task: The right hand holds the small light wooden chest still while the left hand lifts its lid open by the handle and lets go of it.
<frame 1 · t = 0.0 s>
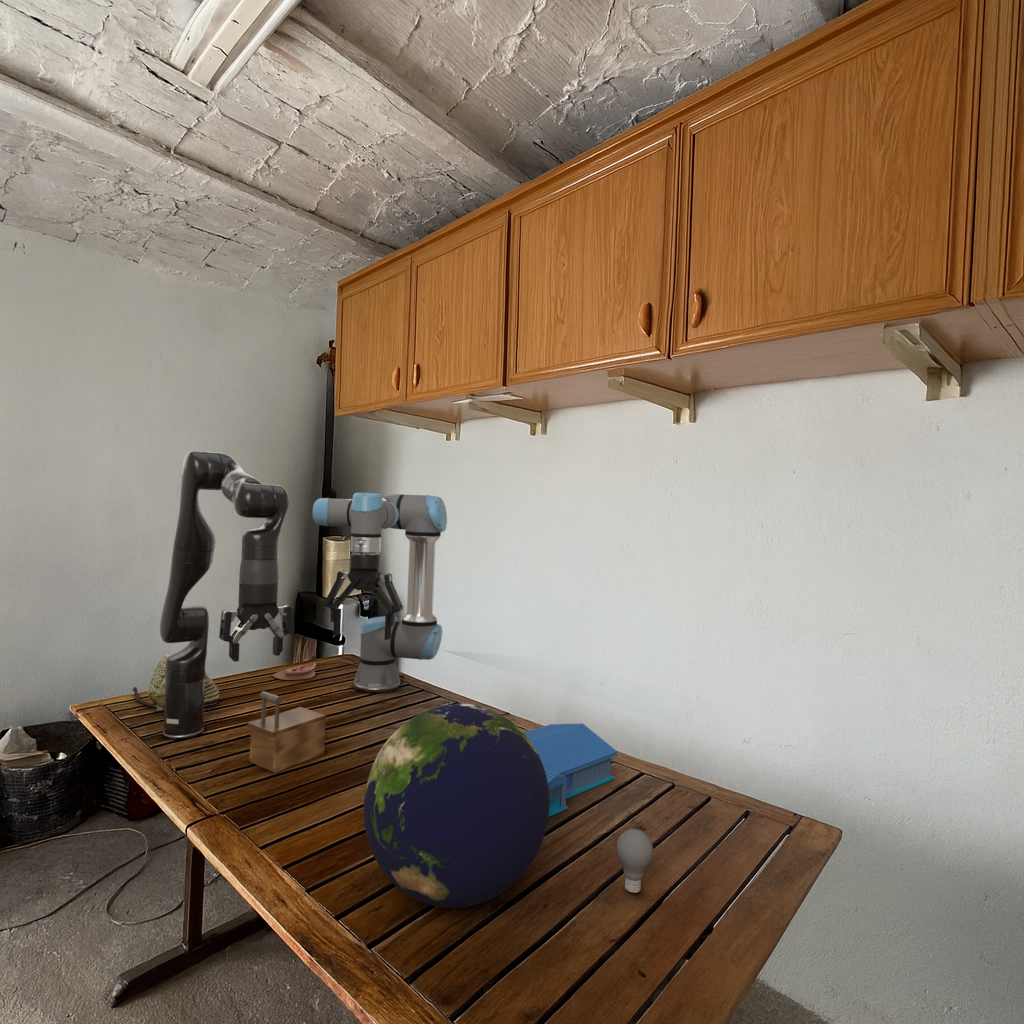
left hand: (256, 657, 132), 29 cm above the table, tool pointing down, fingers open, 8 cm apart
right hand: (362, 637, 161), 28 cm above the table, tool pointing down, fingers open, 13 cm apart
globe: (453, 892, 103), on the table
chest: (287, 757, 153), on the table
fossil: (183, 706, 185), on the table
light bulb: (632, 891, 106), on the table
lid: (288, 705, 152), point 13 cm above the table, hinge at 0.0°
model building: (527, 788, 142), on the table
anatomical model: (294, 676, 220), on the table
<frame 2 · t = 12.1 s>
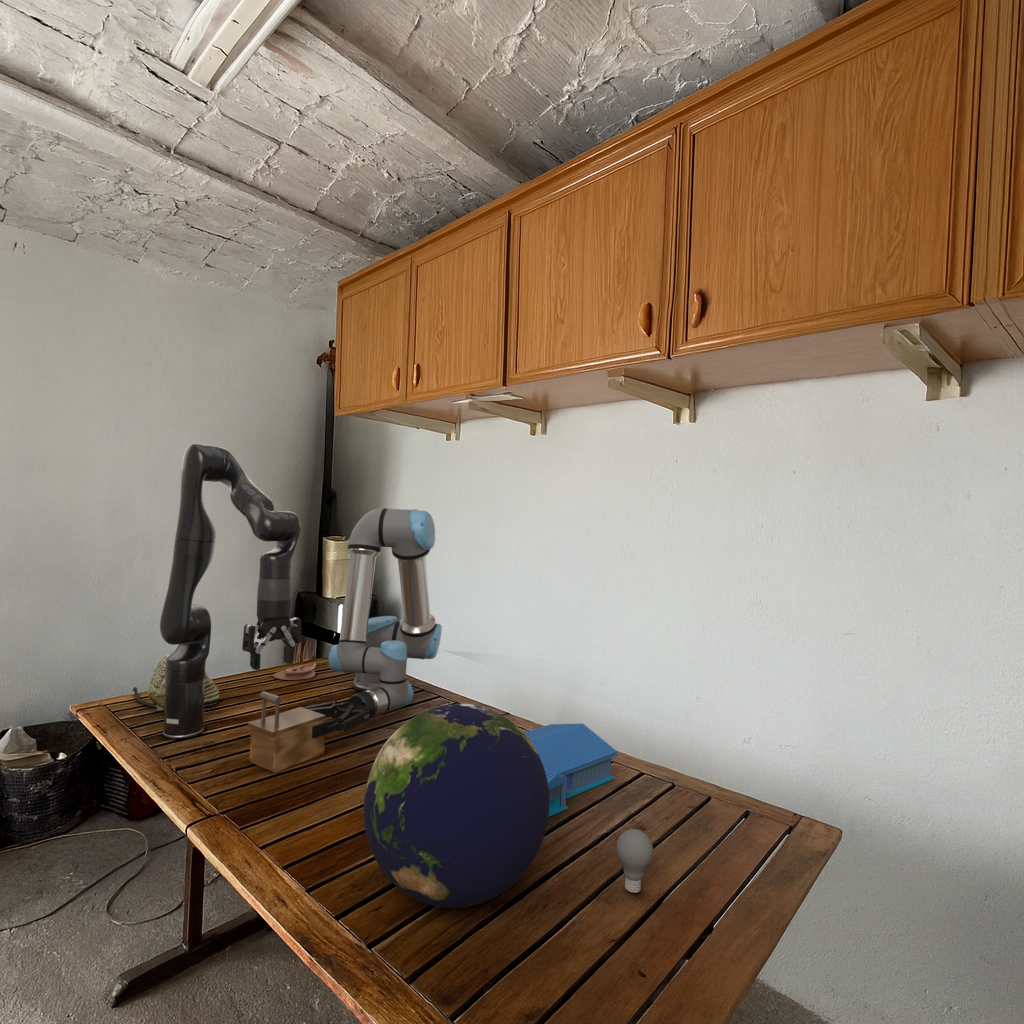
left hand: (272, 665, 148), 23 cm above the table, tool pointing down, fingers open, 8 cm apart
right hand: (299, 727, 155), 7 cm above the table, tool horizontal, fingers closed on chest, 9 cm apart
chest: (287, 757, 153), on the table, touching right hand
everything else where it was.
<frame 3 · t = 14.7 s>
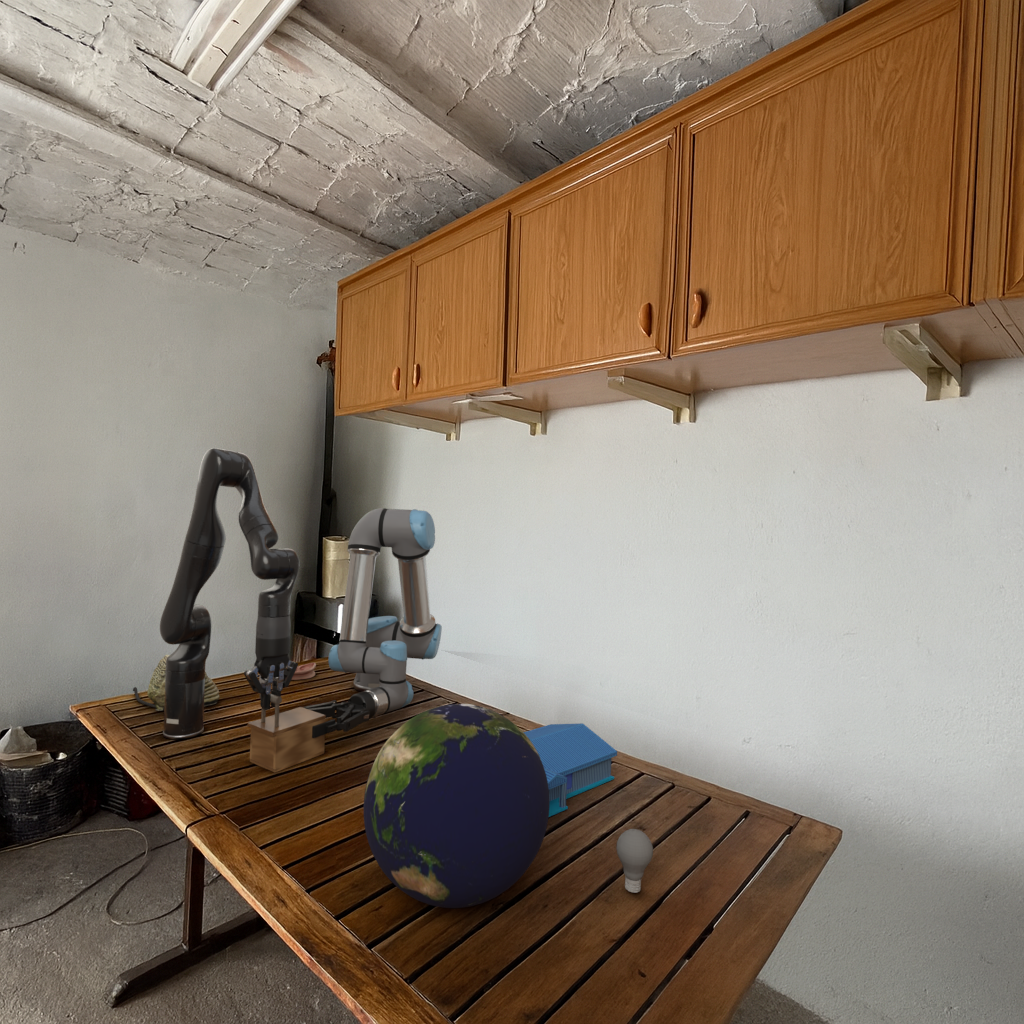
left hand: (270, 707, 148), 13 cm above the table, tool pointing down, fingers closed on lid, 2 cm apart
right hand: (299, 727, 155), 7 cm above the table, tool horizontal, fingers closed on chest, 9 cm apart
chest: (287, 757, 153), on the table, touching right hand
lid: (288, 705, 152), point 13 cm above the table, hinge at -0.1°, touching left hand
everything else where it was.
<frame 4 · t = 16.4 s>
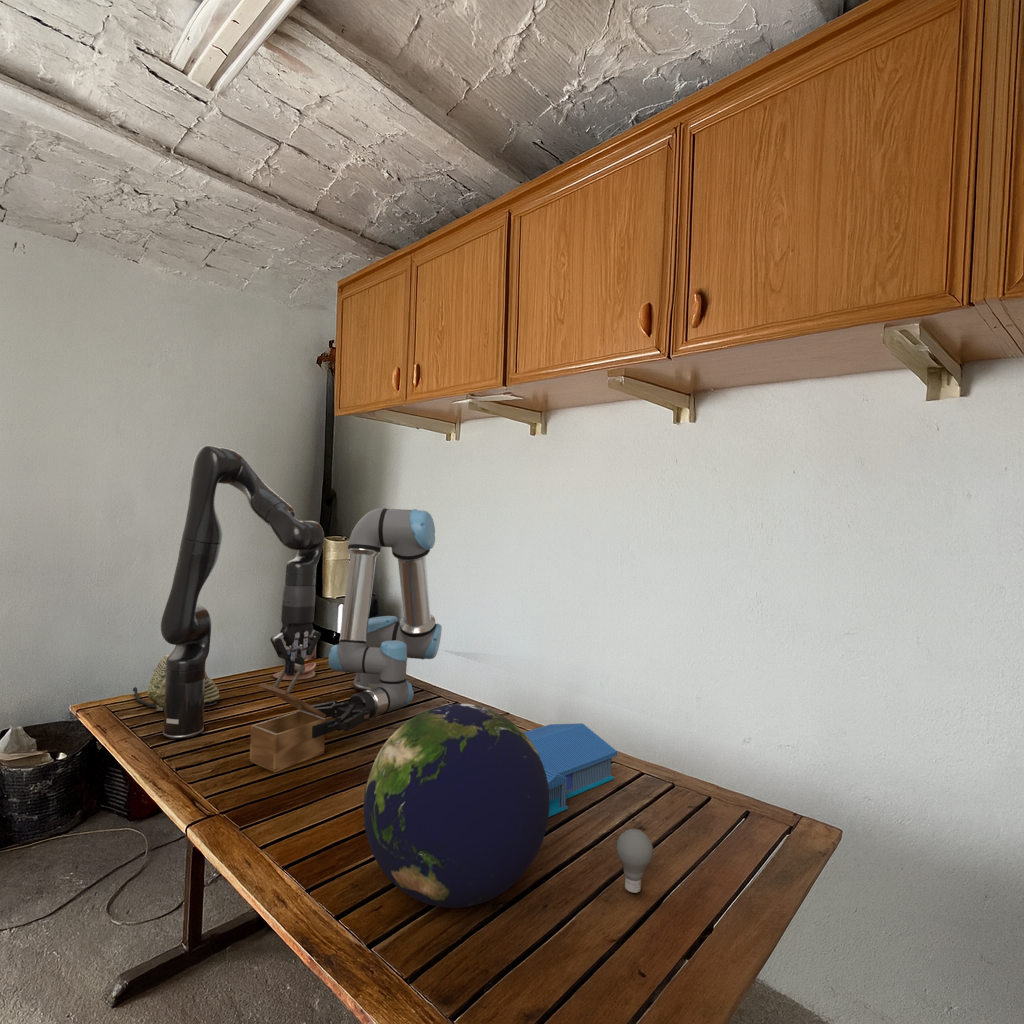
left hand: (294, 674, 153), 20 cm above the table, tool pointing down, fingers closed on lid, 2 cm apart
right hand: (299, 727, 155), 7 cm above the table, tool horizontal, fingers closed on chest, 9 cm apart
chest: (287, 757, 153), on the table, touching right hand
lid: (300, 687, 155), point 16 cm above the table, hinge at 36.0°, touching left hand
everything else where it was.
when the right hand's fingers open (6 cm above the table, at t = 22.0 s): chest stays where it is, on the table.
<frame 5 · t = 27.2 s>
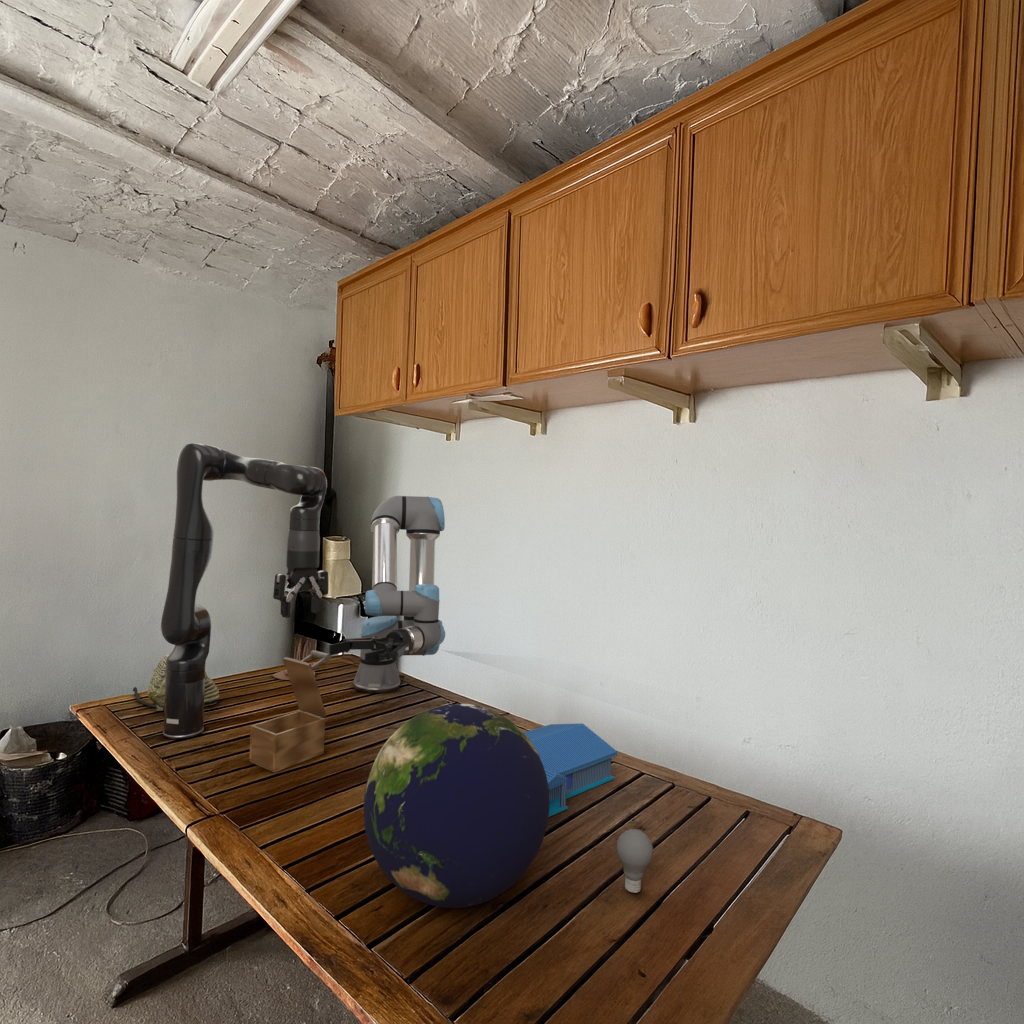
left hand: (300, 615, 154), 34 cm above the table, tool pointing down, fingers open, 8 cm apart
right hand: (347, 654, 167), 22 cm above the table, tool horizontal, fingers open, 13 cm apart
chest: (287, 757, 153), on the table
lid: (316, 679, 159), point 17 cm above the table, hinge at 68.9°
everything else where it was.
at the end: lid at +69° (first picture: +0°); the left hand is holding nothing; the right hand is holding nothing; chest tilted 0°; chest never tilted more than 1° during the clip; chest moved 0.1 cm from its start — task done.
